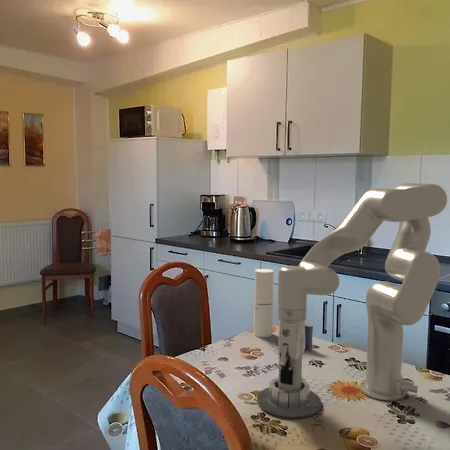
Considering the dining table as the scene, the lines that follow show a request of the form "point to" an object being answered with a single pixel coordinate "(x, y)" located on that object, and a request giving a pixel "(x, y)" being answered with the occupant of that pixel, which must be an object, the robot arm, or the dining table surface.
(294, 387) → the energy drink can
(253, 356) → the dining table surface
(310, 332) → the flask
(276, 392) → the rosette socket
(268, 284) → the cylindrical container
